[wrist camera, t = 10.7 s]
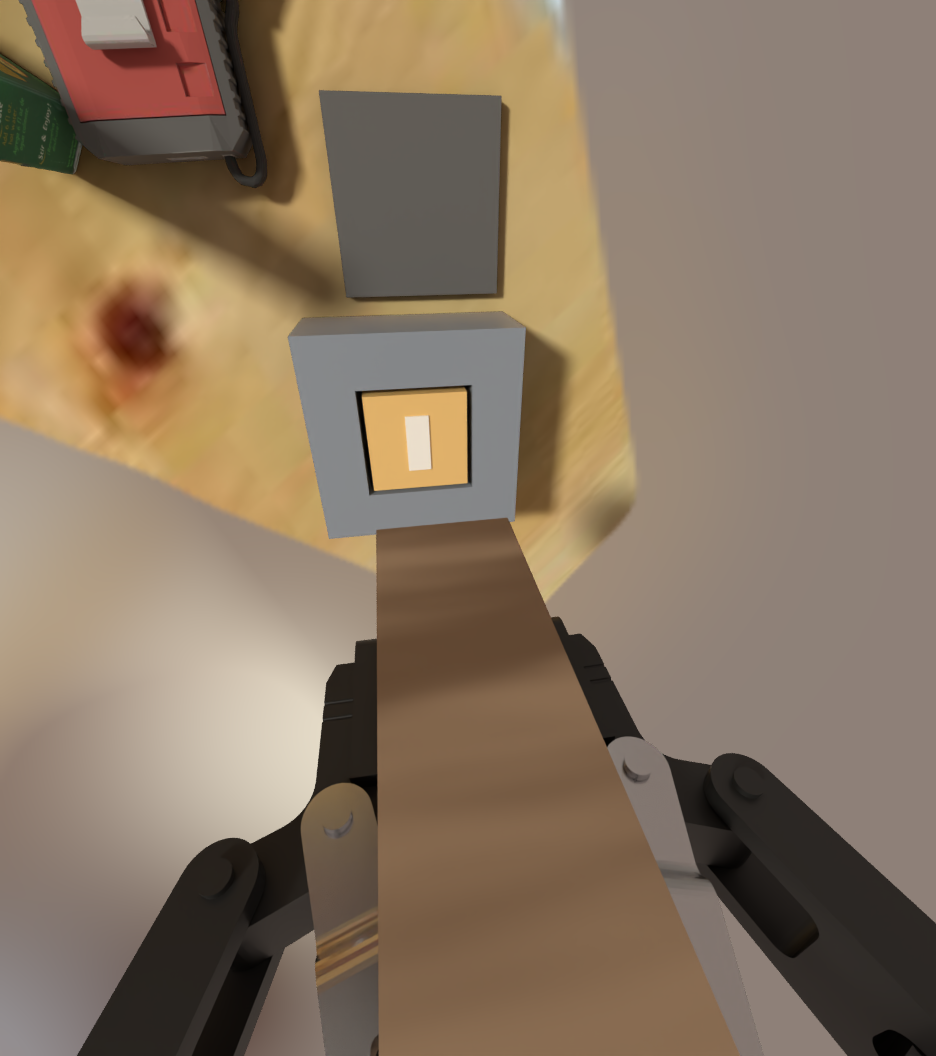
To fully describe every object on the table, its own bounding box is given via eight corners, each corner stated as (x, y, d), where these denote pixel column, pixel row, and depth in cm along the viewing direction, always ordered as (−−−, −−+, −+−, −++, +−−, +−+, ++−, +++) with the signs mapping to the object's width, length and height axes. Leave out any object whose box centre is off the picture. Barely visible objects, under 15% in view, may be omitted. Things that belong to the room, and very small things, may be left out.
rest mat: (320, 93, 20) (318, 90, 20) (498, 98, 22) (501, 95, 21) (347, 295, 25) (346, 297, 24) (494, 291, 26) (496, 293, 25)
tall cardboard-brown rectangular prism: (376, 529, 14) (380, 1292, 4) (507, 517, 14) (787, 1166, 5) (389, 625, 16) (412, 1264, 6) (502, 611, 17) (684, 1183, 7)
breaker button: (363, 375, 26) (361, 398, 23) (455, 370, 27) (467, 392, 23) (374, 460, 29) (374, 491, 26) (457, 454, 30) (467, 483, 26)
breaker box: (302, 317, 25) (287, 336, 21) (502, 311, 26) (525, 327, 22) (335, 496, 31) (329, 538, 27) (496, 483, 33) (514, 521, 28)
